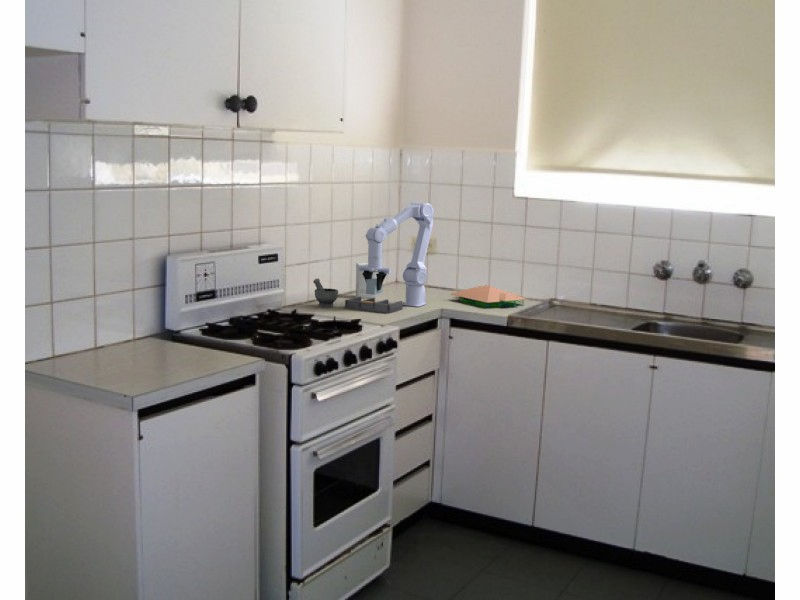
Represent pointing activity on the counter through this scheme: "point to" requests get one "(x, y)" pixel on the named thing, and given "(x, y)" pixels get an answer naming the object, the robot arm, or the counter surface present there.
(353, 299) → the rack
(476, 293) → the house
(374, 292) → the rectangular block
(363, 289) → the skincare box
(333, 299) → the mortar and pestle
